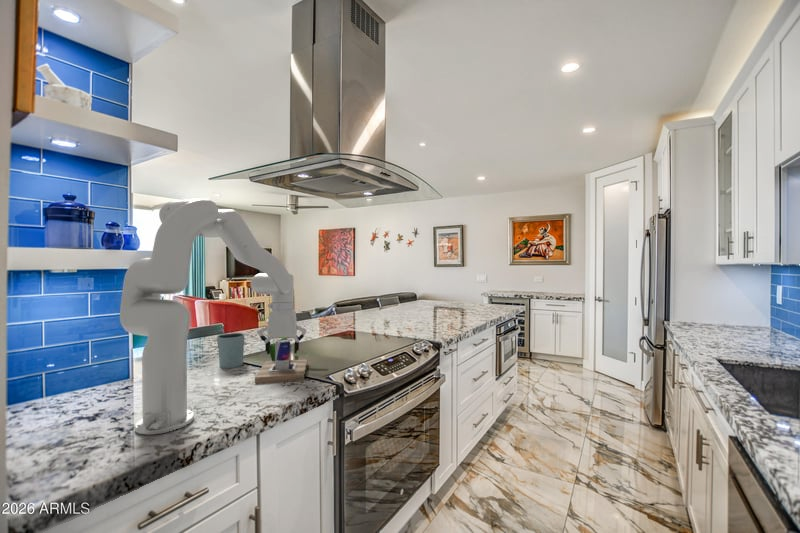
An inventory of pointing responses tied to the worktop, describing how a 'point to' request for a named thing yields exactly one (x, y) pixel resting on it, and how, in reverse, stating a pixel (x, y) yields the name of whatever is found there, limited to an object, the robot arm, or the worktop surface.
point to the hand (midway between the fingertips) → (282, 352)
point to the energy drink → (282, 354)
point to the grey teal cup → (230, 350)
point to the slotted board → (281, 372)
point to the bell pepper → (272, 349)
